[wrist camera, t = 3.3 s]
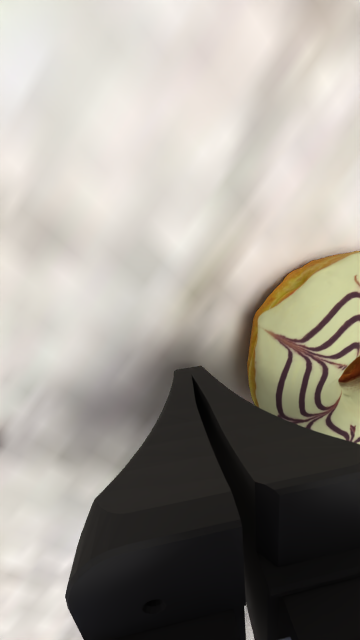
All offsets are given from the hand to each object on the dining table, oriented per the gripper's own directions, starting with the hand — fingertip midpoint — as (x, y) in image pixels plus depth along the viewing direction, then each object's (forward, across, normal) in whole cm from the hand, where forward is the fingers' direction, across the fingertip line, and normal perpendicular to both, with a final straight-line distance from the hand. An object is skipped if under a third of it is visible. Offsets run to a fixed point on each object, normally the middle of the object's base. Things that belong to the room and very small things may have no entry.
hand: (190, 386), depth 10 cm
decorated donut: (+2, -8, 0) cm, 8 cm away
